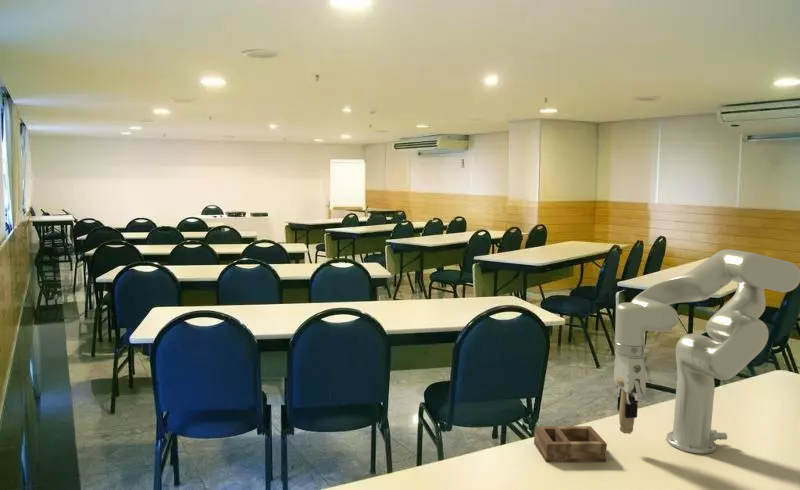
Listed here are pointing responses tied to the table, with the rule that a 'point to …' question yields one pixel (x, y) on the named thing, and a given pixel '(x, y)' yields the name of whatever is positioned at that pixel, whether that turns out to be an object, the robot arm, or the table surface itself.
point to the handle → (624, 422)
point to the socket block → (570, 444)
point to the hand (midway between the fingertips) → (627, 413)
